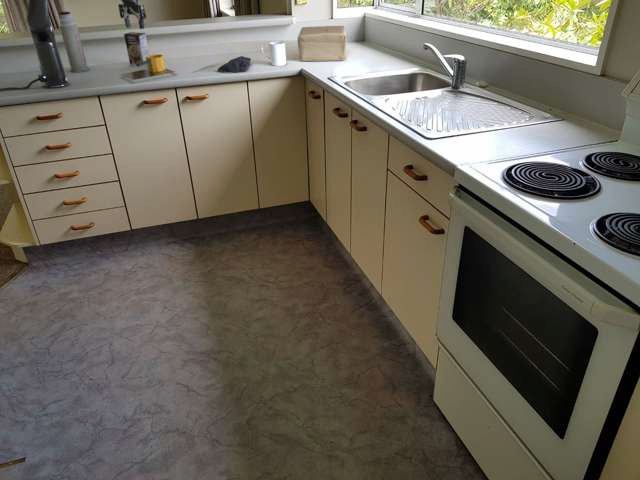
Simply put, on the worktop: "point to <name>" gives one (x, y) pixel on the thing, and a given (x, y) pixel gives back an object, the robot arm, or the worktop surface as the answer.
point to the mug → (276, 53)
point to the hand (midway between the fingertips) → (135, 28)
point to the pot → (154, 63)
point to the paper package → (322, 43)
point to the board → (145, 74)
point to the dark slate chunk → (236, 65)
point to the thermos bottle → (72, 43)
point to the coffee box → (136, 47)
